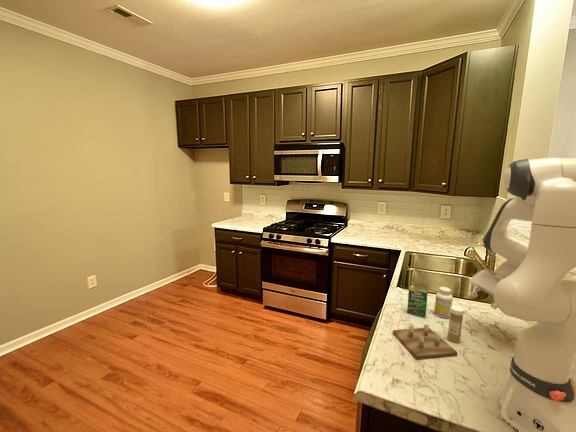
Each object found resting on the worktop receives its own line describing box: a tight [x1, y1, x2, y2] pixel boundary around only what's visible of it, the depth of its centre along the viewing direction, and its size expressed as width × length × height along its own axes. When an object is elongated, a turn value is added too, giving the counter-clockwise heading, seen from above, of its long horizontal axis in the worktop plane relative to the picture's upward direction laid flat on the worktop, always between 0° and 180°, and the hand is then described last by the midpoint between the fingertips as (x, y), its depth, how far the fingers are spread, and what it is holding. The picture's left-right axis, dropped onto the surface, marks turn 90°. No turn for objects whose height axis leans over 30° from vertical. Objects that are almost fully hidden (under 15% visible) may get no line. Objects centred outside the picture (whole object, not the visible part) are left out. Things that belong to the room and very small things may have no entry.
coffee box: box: [406, 285, 429, 318], centre depth 128 cm, size 8×3×13 cm, turn 57°
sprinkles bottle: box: [446, 305, 465, 344], centre depth 109 cm, size 5×5×13 cm
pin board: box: [392, 324, 458, 361], centre depth 107 cm, size 16×16×6 cm
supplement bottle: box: [434, 286, 454, 319], centre depth 128 cm, size 7×7×13 cm
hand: (482, 301), depth 110 cm, fingers open, 8 cm apart
